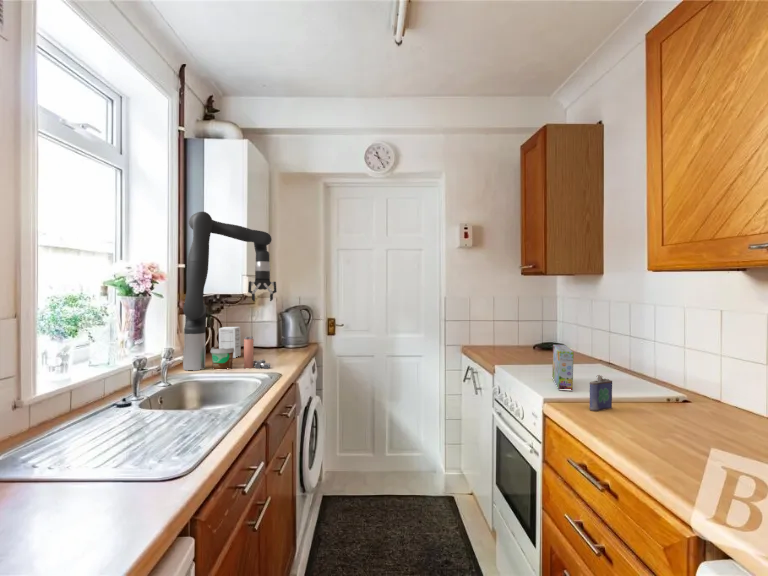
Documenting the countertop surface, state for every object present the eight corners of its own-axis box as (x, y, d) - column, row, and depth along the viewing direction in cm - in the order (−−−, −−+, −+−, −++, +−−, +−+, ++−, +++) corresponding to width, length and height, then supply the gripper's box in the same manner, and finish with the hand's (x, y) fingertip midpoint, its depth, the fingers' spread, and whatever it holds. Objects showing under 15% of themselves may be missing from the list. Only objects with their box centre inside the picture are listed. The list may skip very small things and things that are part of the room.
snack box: (574, 392, 153) (574, 351, 153) (558, 391, 155) (558, 351, 155) (565, 380, 174) (565, 344, 174) (551, 379, 175) (551, 343, 175)
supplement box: (241, 355, 237) (241, 326, 238) (235, 358, 228) (235, 328, 228) (224, 355, 237) (224, 326, 237) (218, 358, 228) (218, 328, 228)
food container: (204, 369, 196) (204, 348, 196) (213, 367, 202) (213, 346, 202) (226, 370, 193) (226, 349, 193) (234, 368, 199) (234, 347, 199)
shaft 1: (256, 366, 204) (256, 360, 204) (251, 366, 205) (251, 360, 205) (265, 364, 210) (265, 358, 210) (260, 364, 211) (260, 358, 211)
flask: (594, 412, 128) (594, 377, 128) (586, 409, 131) (586, 375, 131) (614, 408, 132) (614, 375, 132) (605, 406, 135) (605, 373, 135)
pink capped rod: (242, 368, 200) (242, 337, 200) (248, 366, 204) (248, 336, 204) (248, 368, 198) (248, 337, 198) (255, 367, 202) (255, 336, 202)
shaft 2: (254, 368, 199) (254, 362, 199) (257, 367, 202) (257, 361, 202) (267, 369, 198) (267, 362, 198) (270, 367, 201) (270, 361, 201)
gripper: (247, 269, 212) (247, 301, 212) (276, 270, 215) (276, 301, 215) (249, 270, 219) (249, 301, 219) (276, 270, 222) (276, 300, 222)
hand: (262, 301), depth 217 cm, fingers open, 8 cm apart
